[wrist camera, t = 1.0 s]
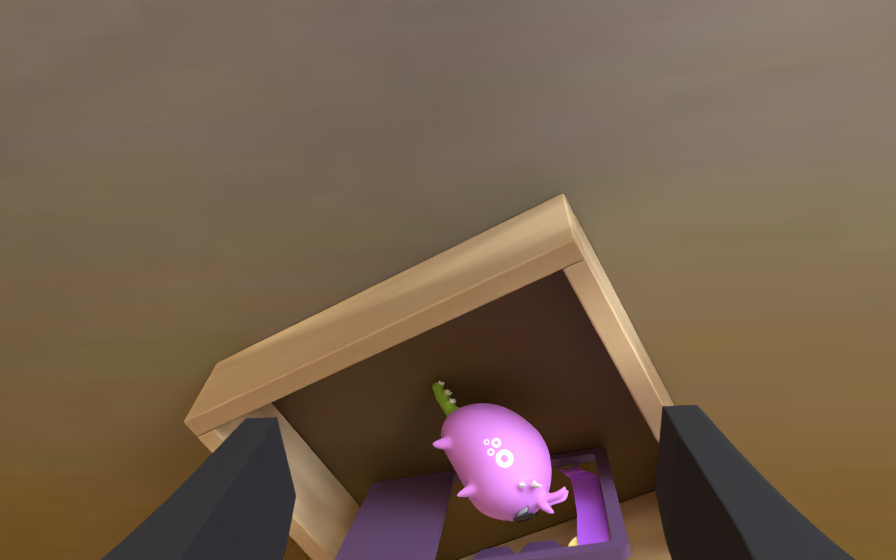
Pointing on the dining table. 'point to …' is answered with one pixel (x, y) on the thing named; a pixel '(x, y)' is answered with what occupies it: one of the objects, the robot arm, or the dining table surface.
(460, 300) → the birch box
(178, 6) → the dining table surface
